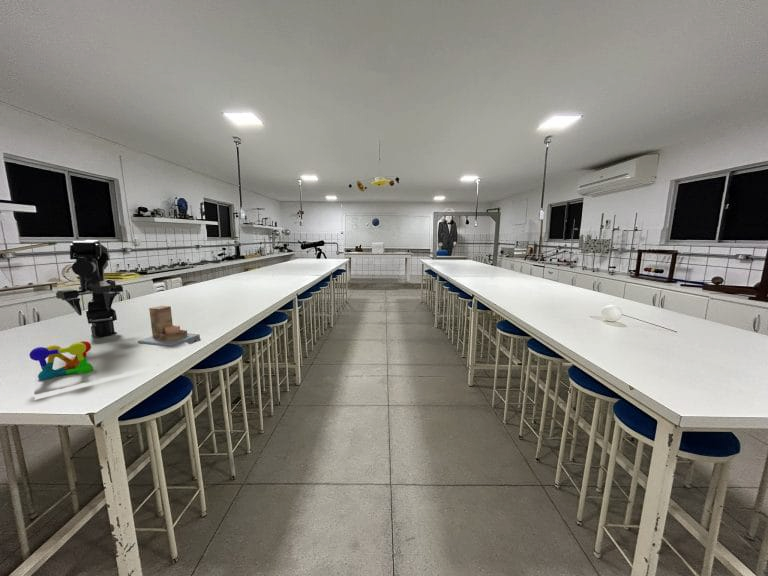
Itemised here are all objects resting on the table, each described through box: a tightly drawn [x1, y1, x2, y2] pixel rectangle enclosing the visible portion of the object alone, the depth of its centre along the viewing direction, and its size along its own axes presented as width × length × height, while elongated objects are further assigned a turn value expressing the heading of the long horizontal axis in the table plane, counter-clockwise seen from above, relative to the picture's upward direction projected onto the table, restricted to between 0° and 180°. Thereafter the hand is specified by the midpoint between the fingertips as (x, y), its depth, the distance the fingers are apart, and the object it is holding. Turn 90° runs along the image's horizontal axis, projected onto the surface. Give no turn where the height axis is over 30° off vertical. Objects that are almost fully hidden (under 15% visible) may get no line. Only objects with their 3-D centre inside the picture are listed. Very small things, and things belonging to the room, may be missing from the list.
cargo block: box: [165, 324, 181, 335], centre depth 123 cm, size 4×4×4 cm
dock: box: [137, 332, 201, 347], centre depth 124 cm, size 17×13×2 cm
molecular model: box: [29, 340, 94, 381], centre depth 92 cm, size 15×12×15 cm
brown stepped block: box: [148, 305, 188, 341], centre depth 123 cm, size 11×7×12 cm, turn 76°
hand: (95, 312), depth 120 cm, fingers open, 9 cm apart
